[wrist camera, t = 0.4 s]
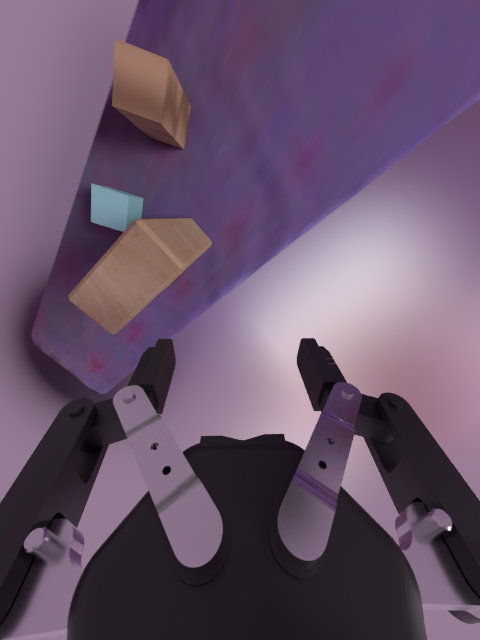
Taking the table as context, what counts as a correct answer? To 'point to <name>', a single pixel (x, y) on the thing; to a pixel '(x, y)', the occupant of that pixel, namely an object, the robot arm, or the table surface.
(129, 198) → the teal cube
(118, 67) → the tan long block
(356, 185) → the table surface
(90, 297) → the decorative block
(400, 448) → the robot arm
